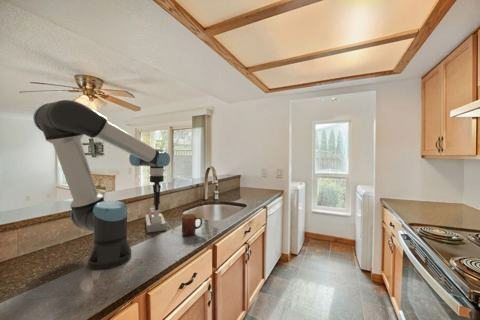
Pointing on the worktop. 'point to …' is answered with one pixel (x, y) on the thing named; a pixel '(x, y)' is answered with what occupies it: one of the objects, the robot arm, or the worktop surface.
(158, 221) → the white key
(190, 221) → the mug
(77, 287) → the worktop surface
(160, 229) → the key panel
